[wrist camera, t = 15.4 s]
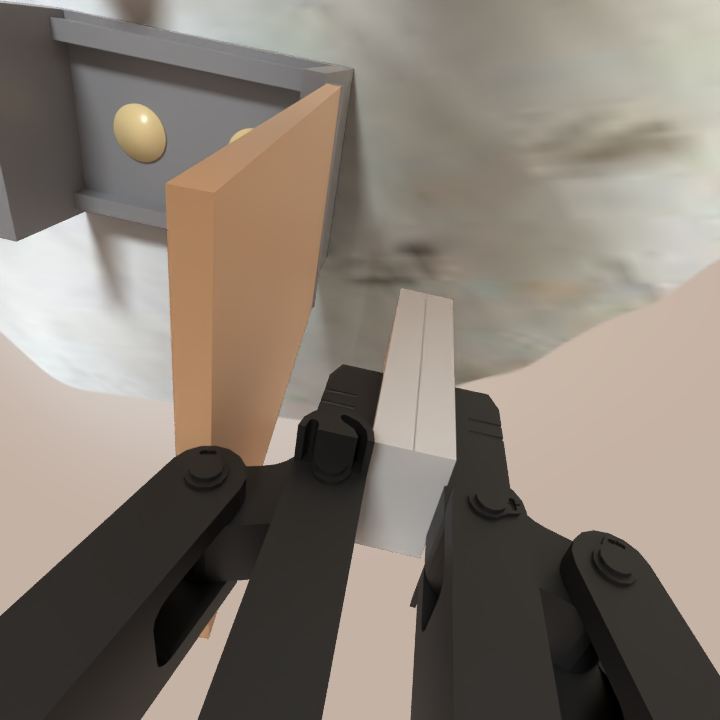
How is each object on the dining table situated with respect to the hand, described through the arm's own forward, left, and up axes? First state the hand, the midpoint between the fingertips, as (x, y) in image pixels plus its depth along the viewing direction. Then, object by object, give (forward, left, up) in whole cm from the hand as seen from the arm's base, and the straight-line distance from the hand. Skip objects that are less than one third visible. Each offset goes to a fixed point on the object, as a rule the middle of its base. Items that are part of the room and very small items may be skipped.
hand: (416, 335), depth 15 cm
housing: (0, -14, -18) cm, 23 cm away
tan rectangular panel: (0, -5, -10) cm, 12 cm away
